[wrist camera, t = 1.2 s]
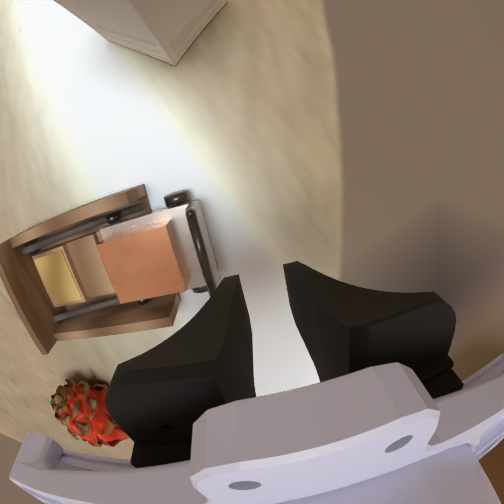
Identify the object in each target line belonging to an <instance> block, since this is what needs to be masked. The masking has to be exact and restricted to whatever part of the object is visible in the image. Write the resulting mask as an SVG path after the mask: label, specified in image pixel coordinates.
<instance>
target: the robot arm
mask: <svg viewBox="0 0 504 504" xmlns="http://www.w3.org/2000/svg"><path fill="white" fill-rule="evenodd" d="M283 268H284V273H285V279H286V285H287V291H288V297H289V303H290V307H291V311H292V314H293V317H294V320H295V323H296V326H297V328H298V330H299V332H300V335H301V337H302V339H303V341H304V343H305V345H306V347H307V349H308V352H309V354H310V356H311V358H312V360H313V362H314V365H315V367H316V370H317V373H318V376H319V379H320V383H316V384H312V385H309V386H305V387H301V388H297V389H292V390H288V391H284V392H279V393H275V394H270V395H265V396H260V397H256V393H255V387H254V376H253V345H252V330H251V324H250V318H249V313H248V310H247V306H246V302H245V298H244V294H243V290H242V287H241V283H240V279H239V275H234V276H230V277H225V278H223V280H222V281H221V283H220V284H219V286H218V287H217V289H216V290H215V291H214V293H213V294H212V296H211V297H210V299H209V300H208V301H207V302H206V303H205V305H204V306H203V307H202V308H201V309H200V311H199V312H198V313H197V314H196V315H195V316H194V317H193V318H192V319H191V320H190V321H189V322H188V323H187V324H186V325H185V326H183V327H182V328H181V329H180V330H178V331H177V332H176V333H175V334H173V335H172V336H171V337H169V338H168V339H167V340H165V341H164V342H162V343H160V344H159V345H157V346H156V347H154V348H152V349H150V350H149V351H147V352H145V353H143V354H141V355H139V356H137V357H134V358H132V359H130V360H128V361H125V362H123V363H121V364H118V366H117V368H116V370H115V373H114V375H113V378H112V380H111V383H110V385H109V388H108V390H107V393H106V396H105V406H106V409H107V411H108V413H109V414H110V416H111V417H112V419H113V420H114V421H115V422H116V423H117V424H118V426H119V427H120V428H121V429H122V430H123V431H124V432H125V433H126V434H127V435H128V436H129V437H130V438H131V439H132V440H133V441H134V442H135V443H134V447H133V452H132V457H131V460H126V459H117V458H109V457H102V456H95V455H89V454H84V453H79V452H74V451H69V450H65V449H63V448H62V447H61V446H60V444H58V443H57V442H56V441H55V440H54V439H52V438H51V437H49V436H47V435H44V434H40V433H36V432H33V431H28V433H27V435H26V437H25V439H24V441H23V444H22V446H21V449H20V451H19V453H18V456H17V458H16V460H15V463H14V466H13V468H12V471H11V473H10V476H9V478H10V479H11V480H12V481H13V482H14V483H16V484H17V485H18V486H20V487H22V488H23V489H24V490H26V491H27V492H29V493H30V494H32V495H33V496H35V497H36V498H38V499H39V500H41V501H43V502H44V503H46V504H501V503H500V500H499V499H498V497H497V495H496V493H495V491H494V489H493V487H492V485H491V483H490V481H489V479H488V478H487V476H486V474H485V472H484V470H483V469H482V467H481V465H480V463H479V462H478V460H479V459H480V458H481V457H482V456H484V455H485V454H486V453H487V452H489V451H490V450H491V449H492V448H493V447H494V446H496V445H497V444H498V443H499V442H500V441H501V440H502V439H503V438H504V353H503V354H501V355H500V356H499V357H497V358H496V359H495V360H494V361H492V362H491V363H489V364H488V365H486V366H485V367H484V368H482V369H481V370H479V371H478V372H476V373H475V374H473V375H472V376H470V377H469V378H467V379H466V380H464V381H461V380H460V379H459V378H458V376H457V375H456V374H455V372H454V371H453V370H452V369H451V368H452V367H453V361H452V359H451V358H450V357H449V356H448V352H449V349H450V346H451V342H452V339H453V335H454V331H455V325H456V316H455V312H454V310H453V308H452V307H451V306H450V305H449V304H448V303H447V302H445V301H444V300H443V299H442V298H441V297H440V296H438V295H437V294H436V293H435V292H420V293H419V292H418V293H398V292H385V291H377V290H371V289H366V288H361V287H357V286H354V285H350V284H347V283H344V282H341V281H338V280H336V279H333V278H331V277H328V276H326V275H324V274H322V273H320V272H318V271H316V270H314V269H312V268H310V267H308V266H306V265H304V264H302V263H300V262H298V261H296V262H292V263H288V264H283Z"/></svg>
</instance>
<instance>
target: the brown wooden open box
mask: <svg viewBox="0 0 504 504" xmlns="http://www.w3.org/2000/svg"><path fill="white" fill-rule="evenodd" d="M114 212H118V213H119V216H120V220H119V221H117V222H120V221H123V220H126V219H130V218H133V217H136V216H140V215H143V214H147V213H150V212H152V211H151V207H150V204H149V200H148V197H147V193H146V189H145V186H144V184H143V185H139V186H136V187H133V188H130V189H127V190H124V191H121V192H118V193H115V194H112V195H109V196H107V197H104V198H101V199H98V200H96V201H93V202H90V203H88V204H85V205H82V206H80V207H77V208H75V209H72V210H70V211H67V212H65V213H62V214H60V215H58V216H55V217H53V218H50V219H48V220H46V221H44V222H41V223H39V224H37V225H35V226H32V227H30V228H28V229H26V230H25V231H23V232H21V233H19V234H17V235H15V236H14V237H12V238H10V239H8V240H7V241H5V242H3V243H2V244H0V276H1V278H2V281H3V283H4V285H5V288H6V290H7V292H8V294H9V296H10V298H11V300H12V302H13V304H14V306H15V308H16V310H17V312H18V314H19V316H20V318H21V320H22V322H23V323H24V325H25V327H26V329H27V331H28V332H29V334H30V336H31V337H32V339H33V341H34V342H35V344H36V346H37V347H38V349H39V350H40V352H41V353H42V355H44V354H48V353H49V352H50V350H51V349H52V347H53V346H54V344H55V343H56V341H62V340H73V339H82V338H91V337H100V336H108V335H116V334H123V333H130V332H137V331H144V330H151V329H157V328H163V327H169V326H173V324H174V321H175V317H176V313H177V310H178V306H179V303H180V299H181V298H180V295H179V293H173V294H168V295H163V296H158V297H153V298H149V299H150V301H149V302H148V303H146V304H144V305H139V304H138V301H132V302H127V303H122V304H121V303H120V301H119V299H118V297H117V294H116V292H115V290H114V287H113V285H112V283H111V280H110V278H109V276H108V273H107V271H106V268H105V266H104V263H103V260H102V258H101V255H100V253H99V250H98V247H97V244H98V243H100V242H101V241H102V240H103V238H102V235H101V233H100V229H101V228H102V227H104V226H107V225H110V224H108V222H107V219H106V216H107V215H109V214H112V213H114ZM115 223H116V222H115ZM112 224H113V223H112Z"/></svg>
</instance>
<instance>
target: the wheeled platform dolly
mask: <svg viewBox="0 0 504 504" xmlns="http://www.w3.org/2000/svg"><path fill="white" fill-rule="evenodd" d="M164 200H165V204H166V207H168V208H164V209H161V210H157V211H154V212H150V213H147V214H143V215H140V216H136V217H133V218H130V219H126V220H123V221H120V222H117V221H119V220H120V216H119V213H118V212H114V213H112V214H109V215H107V216H106V219H107V222H108V224H110V225H107V226H104V227H102V228H101V229H100V233H101V235H102V238H103V240H102V241H101V242H100V243H98V244H97V247H98V250H99V253H100V255H101V258H102V260H103V263H104V266H105V268H106V271H107V273H108V276H109V278H110V280H111V283H112V285H113V287H114V290H115V292H116V294H117V297H118V299H119V301H120V303H121V304H122V303H127V302H132V301H138V304H139V305H144V304H146V303H148V302H149V301H150V299H149V298H153V297H158V296H163V295H168V294H173V293H178V292H183V291H187V289H192V291H193V292H195V293H202V292H206V291H208V292H209V295H210V297H211V296H212V294H213V293H214V291H215V290H216V289H217V287H218V286H219V284H220V275H219V271H218V267H217V264H216V260H215V257H214V253H213V250H212V246H211V242H210V239H209V235H208V231H207V227H206V224H205V220H204V216H203V212H202V208H201V205H200V201H199V200H195V201H191V202H187V201H189V200H190V196H189V192H188V190H182V191H178V192H175V193H172V194H169V195H166V196H164ZM185 202H187V203H185ZM182 203H183V204H182ZM175 205H176V206H175ZM171 206H172V207H171ZM115 222H116V223H115ZM112 223H113V224H112Z"/></svg>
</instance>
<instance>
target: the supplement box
mask: <svg viewBox="0 0 504 504" xmlns="http://www.w3.org/2000/svg"><path fill="white" fill-rule="evenodd" d="M54 1H55V2H57V3H58V4H60V5H61V6H63V7H64V8H66V9H67V10H68V11H70V12H71V13H73V14H74V15H75V16H77V17H78V18H79V19H81V20H82V21H83V22H85V23H86V24H87V25H89V26H90V27H91V28H93V29H94V30H95V31H96V32H98V33H99V34H100V35H101V36H103V37H104V38H105V39H106V40H108V41H110V42H113V43H116V44H119V45H122V46H124V47H127V48H130V49H133V50H136V51H138V52H141V53H144V54H146V55H149V56H152V57H154V58H157V59H159V60H162V61H164V62H167V63H169V64H171V65H174V66H175V65H176V64H177V63H178V61H179V60H180V59H181V57H182V56H183V55H184V53H185V52H186V51H187V49H188V48H189V47H190V45H191V44H192V43H193V41H194V40H195V39H196V38H197V36H198V35H199V34H200V33H201V31H202V30H203V29H204V28H205V27H206V25H207V24H208V23H209V22H210V21H211V20H212V19H213V17H214V16H215V15H216V14H217V13H218V12H219V11H220V9H221V8H222V7H223V6H224V5H225V4H226V3H227V0H54Z"/></svg>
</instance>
